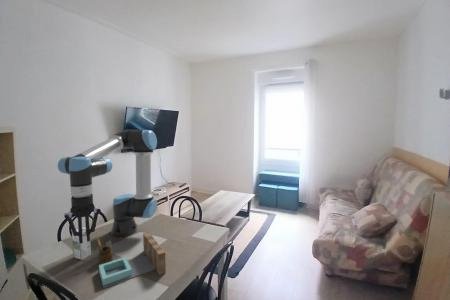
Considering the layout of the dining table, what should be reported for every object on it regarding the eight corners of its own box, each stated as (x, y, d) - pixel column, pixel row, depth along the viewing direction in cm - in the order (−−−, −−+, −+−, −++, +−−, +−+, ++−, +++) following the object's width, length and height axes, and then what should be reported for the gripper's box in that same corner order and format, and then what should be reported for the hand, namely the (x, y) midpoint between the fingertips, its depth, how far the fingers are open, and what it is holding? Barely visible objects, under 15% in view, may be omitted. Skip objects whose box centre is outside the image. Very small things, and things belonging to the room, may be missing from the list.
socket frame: (99, 271, 105) (98, 265, 105) (125, 262, 112) (125, 256, 112) (103, 285, 96) (102, 279, 96) (131, 275, 103) (131, 269, 102)
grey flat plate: (98, 270, 106) (98, 270, 106) (146, 255, 119) (146, 254, 119) (103, 288, 95) (103, 287, 95) (155, 269, 108) (155, 268, 108)
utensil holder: (109, 265, 111) (108, 241, 109) (96, 265, 110) (95, 242, 109) (114, 258, 116) (113, 235, 115) (101, 258, 116) (100, 236, 115)
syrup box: (91, 254, 119) (90, 227, 118) (81, 260, 114) (79, 233, 112) (83, 252, 121) (82, 226, 120) (73, 258, 116) (71, 231, 114)
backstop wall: (143, 251, 123) (143, 233, 122) (149, 249, 125) (148, 232, 124) (159, 275, 104) (158, 254, 103) (165, 272, 106) (165, 252, 104)
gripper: (62, 200, 86) (66, 258, 89) (101, 194, 94) (103, 248, 96) (62, 195, 92) (65, 250, 95) (98, 190, 100) (101, 241, 102)
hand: (85, 249), depth 96 cm, fingers closed
